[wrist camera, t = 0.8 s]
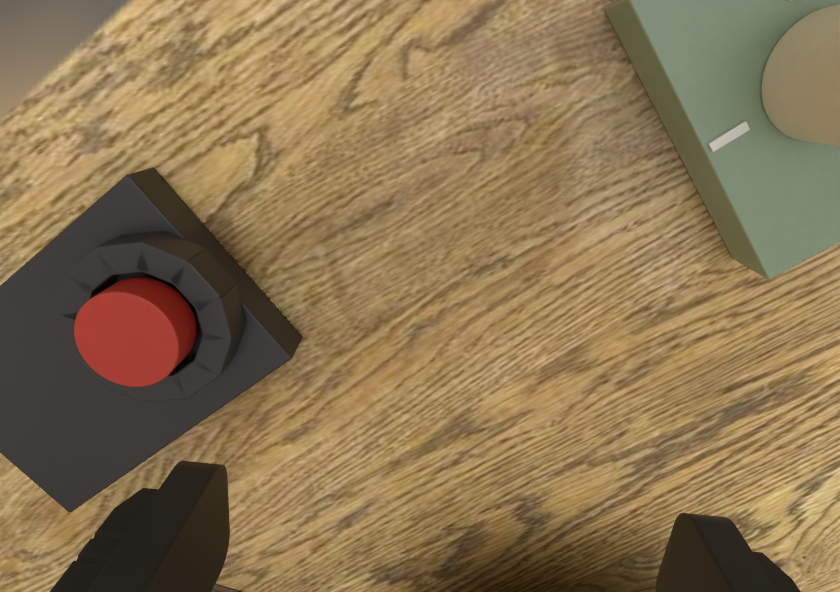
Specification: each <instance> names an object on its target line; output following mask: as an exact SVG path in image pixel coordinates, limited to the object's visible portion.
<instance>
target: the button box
mask: <svg viewBox="0 0 840 592" xmlns="http://www.w3.org/2000/svg"><path fill="white" fill-rule="evenodd" d="M133 277H143V278H150V279H154V280H157V281H160V282H162V283H165V284H167V285H168V286H170V287H172V288H173V289H174V290H176V291H177V292H178V293H179V294H180V295H181V296H182V297H183V298H184V299H185V300H186V302H187V303H188V305H189V306H190V308H191V310H192V312H193V314H194V317H195V321H196V329H197V332H196V339H195V343H194V346H193V348H192V349H191V351H190V352H189V354H188V355H187V356H186V357H185V358H184V359H183V360H182V361H181V362H180V363H179V365H178V366H177V367H176V368H175V369H174V370H173V371H172V372H171V373H170V374H169V375H168V376H167V377H166V378H165V379H163V380H161V381H160V382H158V383H155V384H153V385H149V386H144V387H129V386H124V385H120V384H117V383H114V382H112V381H109V380H107V379H106V378H104V377H102V376H101V375H99V374H98V373H97V372H95V371H94V370H93V369H92V368H91V367H90V366H89V365H88V364H87V363H86V361H85V360H84V359H83V357H82V355H81V354H80V352H79V350H78V347H77V345H76V341H75V336H74V325H75V320H76V317H77V314H78V312H79V310H80V309H81V307H82V306H83V305H84V304H85V303H86V302H87V301H88V300H89V299H91V298H92V297H94V296H95V295H97V294H99V293H100V292H102V291H104V290H105V289H107V288H109V287H110V286H112V285H114V284H115V283H117V282H119V281H121V280H124V279H127V278H133ZM301 340H302V337H301V335H300V334H299V333H298V332H297V331H296V330H295V329H294V327H293V326H292V325H291V324H290V323H289V322H288V321H287V319H286V318H285V317H284V316H283V315H282V314H281V313H280V312H279V310H278V309H277V308H276V307H275V306H274V305H273V304H272V302H271V301H270V300H269V299H268V298H267V297H266V296H265V294H264V293H263V292H262V291H261V290H260V289H259V288H258V286H257V285H256V284H255V283H254V282H253V281H252V280H251V278H250V277H249V276H248V275H247V274H246V273H245V272H244V270H243V269H242V268H241V267H240V266H239V265H238V264H237V263H236V261H235V260H234V259H233V258H232V257H231V256H230V255H229V253H228V252H227V251H226V250H225V249H224V248H223V247H222V245H221V244H220V243H219V242H218V241H217V240H216V239H215V237H214V236H213V235H212V234H211V233H210V232H209V231H208V229H207V228H206V227H205V226H204V225H203V224H202V223H201V221H200V220H199V219H198V218H197V217H196V216H195V215H194V214H193V212H192V211H191V210H190V209H189V208H188V207H187V206H186V204H185V203H184V202H183V201H182V200H181V199H180V198H179V196H178V195H177V194H176V193H175V192H174V191H173V190H172V188H171V187H170V186H169V185H168V184H167V183H166V182H165V180H164V179H163V178H162V177H161V176H160V175H159V174H158V172H157V171H156V170H155V169H154V168H150V169H146V170H143V171H139V172H136V173H132V174H129V175H126V176H125V177H124V178H123V179H121V180H120V181H119V182H118V183H117V184H116V185H115V186H114V187H112V188H111V189H110V190H109V191H108V192H107V193H106V194H104V195H103V196H102V197H101V198H100V199H99V200H98V201H96V202H95V203H94V204H93V205H92V206H91V207H90V208H88V209H87V210H86V211H85V212H84V213H83V214H82V215H81V216H79V217H78V218H77V219H76V220H75V221H74V222H73V223H71V224H70V225H69V226H68V227H67V228H66V229H65V230H63V231H62V232H61V233H60V234H59V235H58V236H57V237H55V238H54V239H53V240H52V241H51V242H50V243H49V244H48V245H46V246H45V247H44V248H43V249H42V250H41V251H40V252H38V253H37V254H36V255H35V256H34V257H33V258H32V259H30V260H29V261H28V262H27V263H26V264H25V265H24V266H22V267H21V268H20V269H19V270H18V271H17V272H16V273H15V274H13V275H12V276H11V277H10V278H9V279H8V280H7V281H5V282H4V283H3V284H2V285H1V286H0V453H2V454H3V455H4V456H5V457H6V458H7V459H8V460H10V461H11V462H12V463H13V464H14V465H15V466H16V467H18V468H19V469H20V470H21V471H22V472H23V473H25V474H26V475H27V476H28V477H29V478H30V479H31V480H33V481H34V482H35V483H36V484H37V485H38V486H39V487H41V488H42V489H43V490H44V491H45V492H46V493H48V494H49V495H50V496H51V497H52V498H53V499H54V500H56V501H57V502H58V503H59V504H60V505H61V506H62V507H64V508H65V509H66V510H67V511H68V512H72V511H73V510H75V509H76V508H78V507H79V506H81V505H82V504H83V503H85V502H86V501H88V500H89V499H91V498H92V497H93V496H95V495H96V494H98V493H99V492H101V491H102V490H103V489H105V488H106V487H108V486H109V485H111V484H112V483H114V482H115V481H116V480H118V479H119V478H121V477H122V476H124V475H125V474H126V473H128V472H129V471H131V470H132V469H134V468H135V467H137V466H138V465H139V464H141V463H142V462H144V461H145V460H147V459H148V458H149V457H151V456H152V455H154V454H155V453H157V452H158V451H159V450H161V449H162V448H164V447H165V446H167V445H168V444H170V443H171V442H172V441H174V440H175V439H177V438H178V437H180V436H181V435H182V434H184V433H185V432H187V431H188V430H190V429H191V428H192V427H194V426H195V425H197V424H198V423H200V422H201V421H203V420H204V419H205V418H207V417H208V416H210V415H211V414H213V413H214V412H215V411H217V410H218V409H220V408H221V407H223V406H224V405H226V404H227V403H228V402H230V401H231V400H233V399H234V398H236V397H237V396H238V395H240V394H241V393H243V392H244V391H246V390H247V389H248V388H250V387H251V386H253V385H254V384H256V383H257V382H259V381H260V380H261V379H263V378H264V377H266V376H267V375H269V374H270V373H271V372H273V371H274V370H276V369H277V368H279V367H280V366H282V365H283V364H284V363H286V362H287V361H289V360H290V359H291V358H292V356H293V355H294V353H295V351H296V349H297V347H298V345H299V344H300V342H301Z"/></svg>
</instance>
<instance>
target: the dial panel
mask: <svg viewBox="0 0 840 592" xmlns="http://www.w3.org/2000/svg"><path fill="white" fill-rule="evenodd" d="M838 4H840V0H616V1H615V2H613V3H612V4H611V5H609V6H608V7H606V8H605V12H606V14H607V16H608V18H609V20H610V22H611V24H612V26H613V28H614V30H615V32H616V33H617V35H618V37H619V39H620V41H621V43H622V45H623V47H624V49H625V51H626V53H627V55H628V57H629V59H630V61H631V63H632V64H633V66H634V68H635V70H636V72H637V74H638V76H639V78H640V80H641V82H642V84H643V86H644V88H645V90H646V92H647V94H648V96H649V97H650V99H651V101H652V103H653V105H654V107H655V109H656V111H657V113H658V115H659V117H660V119H661V121H662V123H663V125H664V127H665V128H666V130H667V132H668V134H669V136H670V138H671V140H672V142H673V144H674V146H675V148H676V150H677V152H678V154H679V156H680V158H681V160H682V161H683V163H684V165H685V167H686V169H687V171H688V173H689V175H690V177H691V179H692V181H693V183H694V185H695V187H696V189H697V191H698V192H699V194H700V196H701V198H702V200H703V202H704V204H705V206H706V208H707V210H708V212H709V214H710V216H711V218H712V220H713V222H714V223H715V225H716V227H717V229H718V231H719V233H720V235H721V237H722V239H723V241H724V243H725V245H726V247H727V249H728V251H729V253H730V255H731V256H732V258H733V259H735V260H736V261H738V262H740V263H741V264H743V265H745V266H746V267H748V268H750V269H752V270H753V271H755V272H757V273H758V274H760V275H762V276H763V277H765V278H767V279H772V278H774V277H775V276H777V275H779V274H781V273H783V272H785V271H786V270H788V269H790V268H792V267H794V266H796V265H798V264H799V263H801V262H803V261H805V260H807V259H809V258H810V257H812V256H814V255H816V254H818V253H820V252H821V251H823V250H825V249H827V248H829V247H831V246H833V245H834V244H836V243H838V242H840V147H838V146H831V145H825V144H818V143H812V142H806V141H800V140H796V139H793V138H791V137H789V136H787V135H785V134H784V133H782V132H781V131H779V130H778V129H777V128H776V127H775V126H774V125H773V123H772V122H771V121H770V119H769V117H768V115H767V114H766V111H765V108H764V105H763V100H762V91H761V89H762V78H763V73H764V69H765V66H766V63H767V61H768V59H769V56H770V54H771V52H772V51H773V49H774V47H775V46H776V44H777V43H778V42H779V40H780V39H781V37H782V36H783V35H784V34H785V33H786V32H787V31H788V30H789V29H790V28H791V27H792V26H793V25H794V24H795V23H797V22H798V21H800V20H801V19H802V18H804V17H805V16H807V15H809V14H811V13H812V12H815V11H817V10H820V9H822V8H825V7H829V6H833V5H838Z"/></svg>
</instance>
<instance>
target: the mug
mask: <svg viewBox="0 0 840 592" xmlns="http://www.w3.org/2000/svg"><path fill="white" fill-rule="evenodd" d="M212 592H238V591H235V590H232V589H229V588H225V587H222V586H219V585H216V584H215V585H214V588H213V590H212Z"/></svg>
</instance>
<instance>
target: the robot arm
mask: <svg viewBox="0 0 840 592" xmlns="http://www.w3.org/2000/svg"><path fill="white" fill-rule="evenodd" d="M229 536H230V526H229V503H228V481H227V470H226V467H225V466H224V465H218V464H208V463H198V462H188V461H181V462H179V463H178V464H177V465H176V466H175V467H174V468H173V470H172V471H171V473H170V474H169V475H168V477H167V478H166V480H165V481H164V483H163V484H162V485H161V487H160V488H159V490H157V489H148V488H143V489H141V490H140V491H138V492H137V493H136V494H134V495H133V496H131V497H130V498H128V499H127V500H126V501H124V502H123V503H121V504H120V505H119V506H117V507H116V508H114V510H113V511H112V512H111V514H110V515H109V516H108V517H107V519H106V520H105V521H104V523H103V524H102V525H101V526H100V528H99V529H98V530H97V532H96V533H95V537H94V539H90V541H89V542H88V543H87V544H86V546H85V547H84V548H83V550H82V551H81V552H80V553H79V555H78V559H77V561H73V562H72V564H71V565H70V566H69V568H68V569H67V570H66V572H65V573H64V574H63V575H62V577H61V578H60V579H59V581H58V582H57V583H56V584H55V586H54V587H53V588H52V590H51V591H50V592H212V590H213V588H214V585H215V583H216V581H217V579H218V577H219V575H220V572H221V570H222V568H223V565H224V562H225V559H226V555H227V550H228V545H229ZM656 592H800V590H799V589H798V587H797V586H796V584H795V583H794V582H793V580H792V579H791V578H790V577H789V576H788V575H787V574H785V573H784V572H783V571H782V570H781V569H780V568H779V567H778V566H776V565H775V564H774V563H773V562H772V561H771V560H770V559H769V558H768V557H766V556H765V555H764V554H763V553H760V552H752V550H751V549H750V547H749V546H748V544H747V543H746V541H745V540H744V538H743V537H742V535H741V533H740V532H739V530H738V529H737V527H736V526H735V524H734V523H733V522H732V521H731V520H730V519H728V518H726V517H717V516H708V515H698V514H688V513H681V514H680V515H679V516H678V517H677V518H676V520H675V523H674V526H673V529H672V532H671V535H670V539H669V542H668V545H667V548H666V551H665V554H664V557H663V561H662V564H661V567H660V570H659V573H658V577H657V582H656Z"/></svg>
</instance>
